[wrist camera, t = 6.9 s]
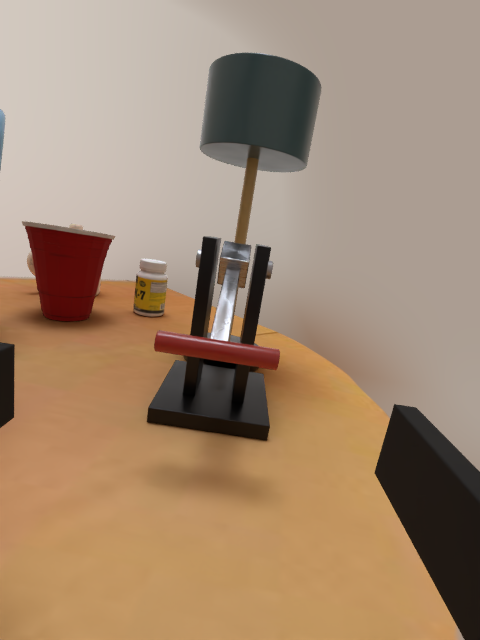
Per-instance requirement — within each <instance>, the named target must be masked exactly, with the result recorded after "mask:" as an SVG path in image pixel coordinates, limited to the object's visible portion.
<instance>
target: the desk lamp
mask: <svg viewBox="0 0 480 640" xmlns="http://www.w3.org/2000/svg"><path fill="white" fill-rule="evenodd" d="M320 94H321V84H320V81H319V80H318V78H317V77H316V76H315V75H314V74H313V73H312V72H311V71H309V70H308V69H307V68H305V67H303V66H301V65H300V64H297V63H295V62H293V61H290V60H287V59H284V58H281V57H277V56H273V55H267V54H260V53H235V54H230V55H226V56H223V57H221V58H219V59H217V60H215V61H214V62H213V63H212V65H211V66H210V69H209V77H208V84H207V92H206V101H205V109H204V117H203V125H202V134H201V141H200V150H201V151H202V152H203V153H204V154H206V155H207V156H209V157H211V158H213V159H216V160H218V161H221V162H224V163H227V164H231V165H234V166H239V167H243V168H246V171H245V177H244V185H243V190H242V197H241V204H240V210H239V216H238V223H237V229H236V236H235V242H234V243H240V244H245V243H246V238H247V231H248V225H249V218H250V213H251V206H252V200H253V194H254V188H255V181H256V175H257V170H261V171H270V172H295V171H300V170H303V169H305V168H306V166H307V162H308V157H309V151H310V146H311V141H312V135H313V130H314V125H315V120H316V114H317V109H318V104H319V99H320ZM237 294H238V289H237ZM236 300H237V295H236ZM235 306H236V301H235ZM234 312H235V307H234ZM233 319H234V313H233ZM233 319H232V325H233ZM232 325H231V331H232ZM231 331H230V337H229V342H236V343H240V337H237V336H233V335H231ZM210 335H211V333H208V334H207V338H210ZM254 345H255V346H258V345H257V344H255V343H254ZM184 358H185V360H186V361H187V356H184ZM203 364H204V365H210V366H217V367H223V368H229V369H235V367H236V364H234V363H228V362H221V361H215V360H209V359H204V361H203ZM258 368H259V367H253V366H250V369H249V372H254V371H256V370H257V369H258Z"/></svg>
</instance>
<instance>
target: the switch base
mask: <svg viewBox="0 0 480 640" xmlns="http://www.w3.org/2000/svg"><path fill="white" fill-rule="evenodd" d="M220 243H221V238H216V237H203V242H202V250H198V252H197V257H196V267H199V273H198V280H197V288H196V295H195V303H194V311H193V318H192V326H191V334H190V335H192V336H198V337H204V338H207V334H208V327H209V320H210V313H211V306H212V299H213V292H214V285H215V278H216V271H217V264H218V256H219V250H220ZM270 251H271V248H270V247H268V246H265V245H259V244H256V248H255V254H254V260H253V266H252V272H251V278H250V284H249V290H248V296H247V302H246V308H245V314H244V319H243V325H242V331H241V337H240V343H242V344H248V345H254V341H255V336H256V330H257V324H258V319H259V313H260V308H261V302H262V296H263V291H264V285H265V279H270V278H271V274H272V268H273V262H272V261H269V257H270ZM203 361H204V359H202V358H196V357H190V356H187V362H185V361H179V360H176V361H175V362H174V364H173V366H172V368H171V369H170V371H169V373H168V375H167V376H166V378H165V380H164V382H163V383H162V385H161V387H160V388H159V390H158V392H157V394H156V395H155V397H154V399H153V401H152V402H151V404H150V406H149V408H148V416H147V422H152V423H159V424H165V425H172V426H178V427H185V428H191V429H198V430H204V431H211V432H217V433H224V434H230V435H236V436H243V437H249V438H256V439H262V440H267V437H268V433H269V428H270V425H269V416H268V408H267V400H266V391H265V383H264V375H263V374H261V373H255V372H249V369H250V366H247V365H240V364H236V367H235V369H229V368H223V367H217V366H210V365H204V364H203Z"/></svg>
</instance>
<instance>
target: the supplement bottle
mask: <svg viewBox="0 0 480 640" xmlns="http://www.w3.org/2000/svg"><path fill="white" fill-rule="evenodd" d="M166 265H167V263H166V262H163V261H159V260H153V259H141V260H140V269H141V271H139V272H138V273H137V276H136V288H135V298H134V312H135V313H137V314H139V315H143V316H150V317H154V316H161V315H163V314H164V306H165V298H166V288H167V279H168V278H167V275H166V274H164V272H166V267H167V266H166Z"/></svg>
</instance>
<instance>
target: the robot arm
mask: <svg viewBox="0 0 480 640" xmlns="http://www.w3.org/2000/svg"><path fill="white" fill-rule="evenodd" d="M4 127H5V115H4V113H3V111H2V110H1V109H0V168H1V159H2V149H3V139H4ZM13 418H14V344H7V343H1V342H0V428H1V427H2V426H4V425H5V424H6V423H7V422H9V421H10V420H11V419H13ZM375 474H376V476H377V478H378V480H379V482H380V484H381V486H382V487H383V489H384V491H385V493H386V495H387V497H388V499H389V500H390V502H391V504H392V506H393V508H394V510H395V512H396V513H397V515H398V517H399V519H400V521H401V523H402V525H403V526H404V528H405V530H406V532H407V534H408V536H409V538H410V539H411V541H412V543H413V545H414V547H415V549H416V550H417V552H418V554H419V556H420V558H421V560H422V562H423V563H424V565H425V567H426V569H427V571H428V573H429V575H430V576H431V578H432V580H433V582H434V584H435V586H436V588H437V589H438V591H439V593H440V595H441V597H442V599H443V601H444V602H445V604H446V606H447V608H448V610H449V612H450V614H451V615H452V617H453V619H454V621H455V623H456V625H457V626H458V628H459V630H460V632H461V634H462V636H463V638H464V639H465V640H480V472H479V471H478V470H477V469H476V468H475V467H474V466H473V465H472V464H471V463H470V462H469V461H468V460H467V459H466V458H465V457H464V456H463V455H462V453H461V452H459V451H458V449H457V448H456V447H455V446H453V444H452V443H451V442H450V441H449V440H448V439H447V438H446V437H445V436H444V435H443V434H442V433H441V432H440V431H439V430H438V429H437V428H436V427H435V426H434V425H433V424H432V423H431V422H430V421H429V420H428V419H427V418H426V417H425V416H424V415H423V414H422V413H421V412H420V411H419V410H418V409H417V408H415V407H409V406H408V407H407V406H402V405H396V404H395V405H394V408H393V411H392V414H391V418H390V421H389V425H388V428H387V432H386V435H385V439H384V442H383V445H382V449H381V452H380V456H379V459H378V463H377V466H376V470H375Z"/></svg>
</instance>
